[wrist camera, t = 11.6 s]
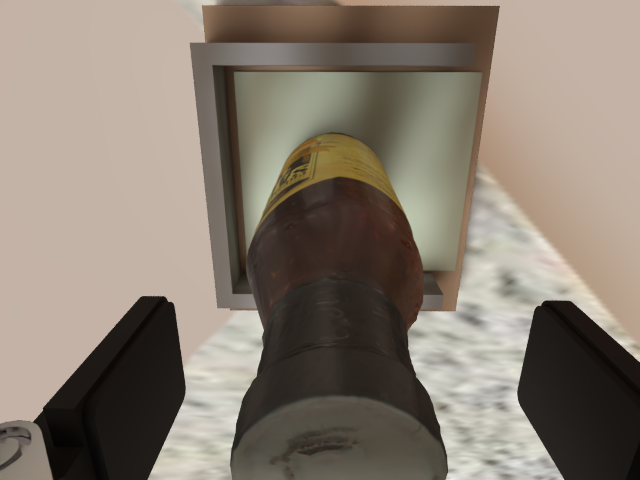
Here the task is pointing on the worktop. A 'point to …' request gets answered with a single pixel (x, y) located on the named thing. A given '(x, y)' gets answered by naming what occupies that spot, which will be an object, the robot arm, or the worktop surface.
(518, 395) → the robot arm
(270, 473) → the sauce bottle
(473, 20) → the dock
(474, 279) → the worktop surface
